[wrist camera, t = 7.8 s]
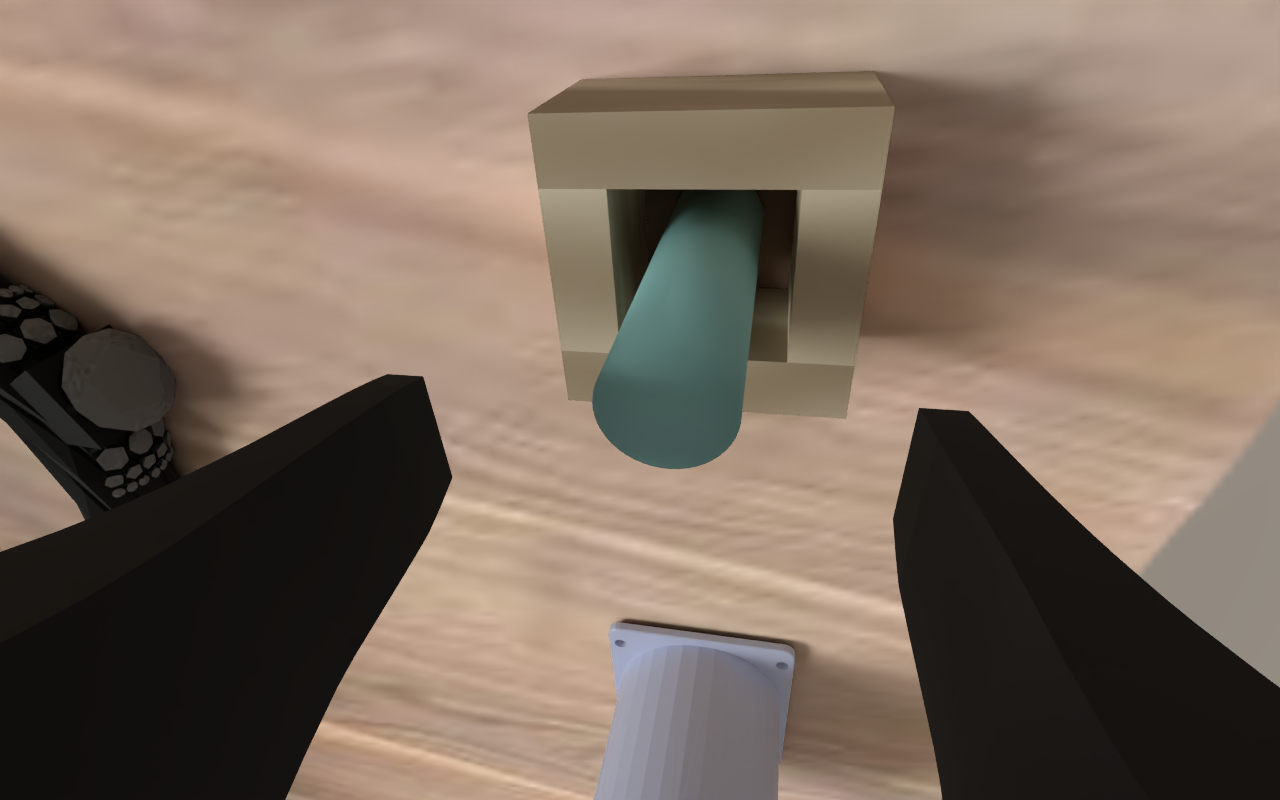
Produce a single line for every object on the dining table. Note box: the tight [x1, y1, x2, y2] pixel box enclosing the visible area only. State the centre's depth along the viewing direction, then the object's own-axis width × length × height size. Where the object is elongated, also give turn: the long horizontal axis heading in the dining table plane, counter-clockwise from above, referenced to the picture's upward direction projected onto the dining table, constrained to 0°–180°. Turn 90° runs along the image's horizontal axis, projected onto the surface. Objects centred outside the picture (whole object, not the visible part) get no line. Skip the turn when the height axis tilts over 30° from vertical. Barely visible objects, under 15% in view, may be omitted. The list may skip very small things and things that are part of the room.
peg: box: [592, 189, 764, 469], centre depth 14 cm, size 2×2×9 cm
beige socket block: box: [528, 71, 895, 419], centre depth 16 cm, size 7×7×4 cm
